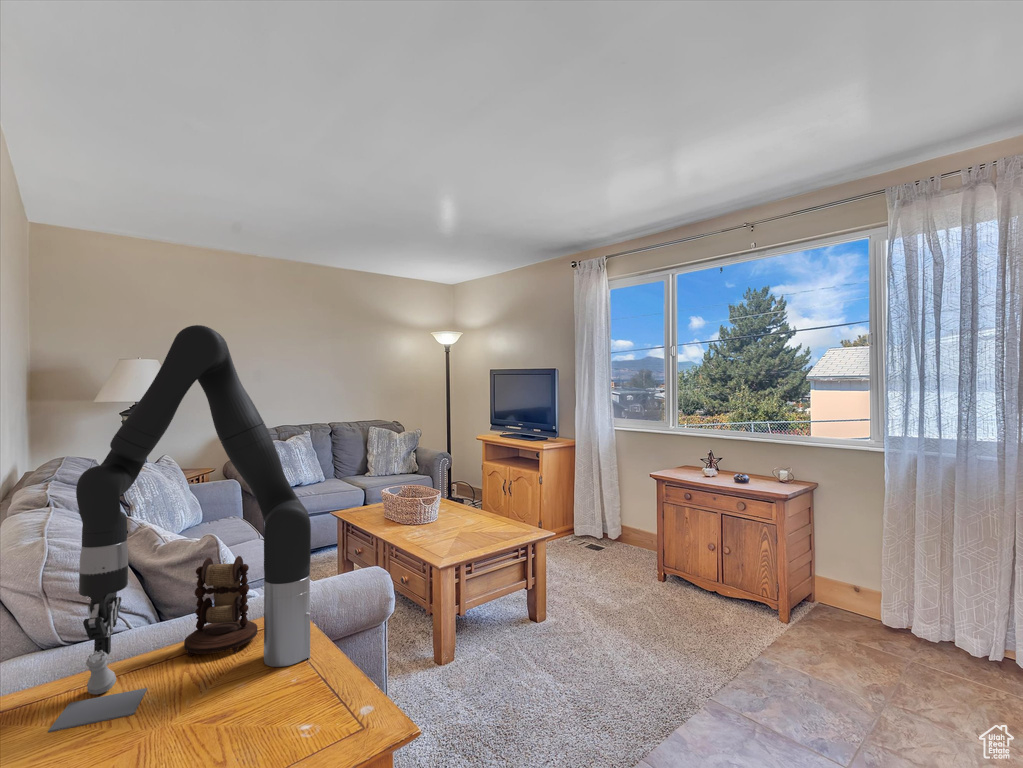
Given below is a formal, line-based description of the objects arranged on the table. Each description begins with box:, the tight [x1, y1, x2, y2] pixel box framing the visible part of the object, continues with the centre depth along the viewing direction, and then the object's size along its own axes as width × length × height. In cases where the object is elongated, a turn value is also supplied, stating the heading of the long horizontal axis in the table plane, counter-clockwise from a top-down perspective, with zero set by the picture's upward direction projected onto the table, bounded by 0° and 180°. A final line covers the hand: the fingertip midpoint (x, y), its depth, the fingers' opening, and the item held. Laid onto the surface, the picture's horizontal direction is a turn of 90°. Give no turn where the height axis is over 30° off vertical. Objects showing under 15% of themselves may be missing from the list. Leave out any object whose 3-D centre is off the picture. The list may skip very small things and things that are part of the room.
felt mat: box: [47, 687, 148, 733], centre depth 93 cm, size 12×9×1 cm
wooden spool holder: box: [183, 555, 258, 657], centre depth 119 cm, size 15×15×20 cm
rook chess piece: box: [85, 650, 117, 696], centre depth 98 cm, size 4×4×8 cm
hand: (102, 656), depth 100 cm, fingers closed
